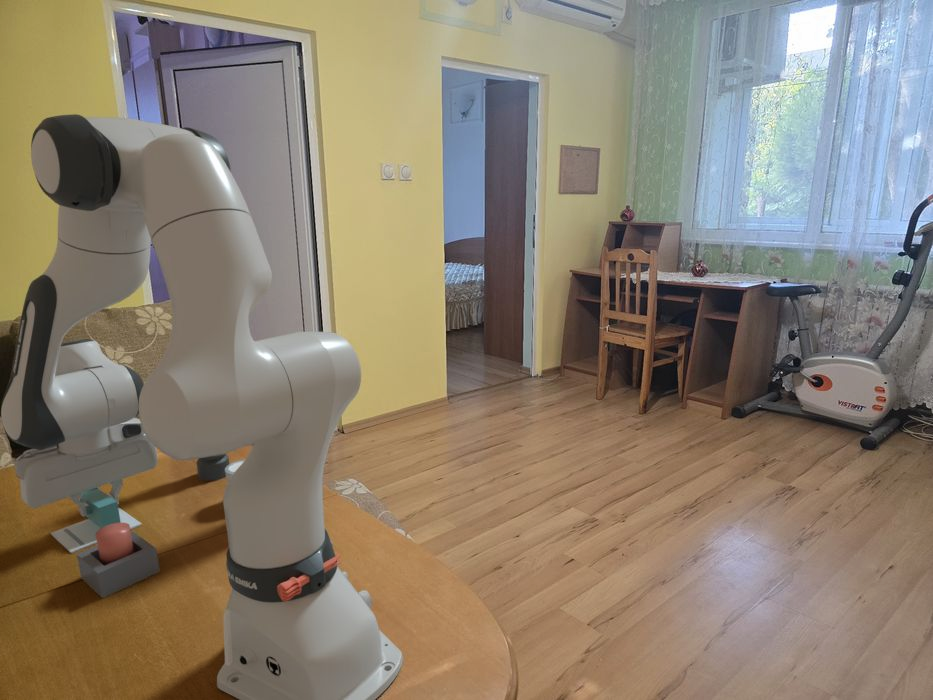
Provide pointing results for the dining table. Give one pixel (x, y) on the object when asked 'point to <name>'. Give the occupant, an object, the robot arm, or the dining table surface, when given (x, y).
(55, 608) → the dining table surface
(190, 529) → the dining table surface
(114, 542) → the button
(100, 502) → the teal rectangular block
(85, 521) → the sketch sheet
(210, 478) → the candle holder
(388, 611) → the dining table surface
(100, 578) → the button box
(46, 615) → the dining table surface
